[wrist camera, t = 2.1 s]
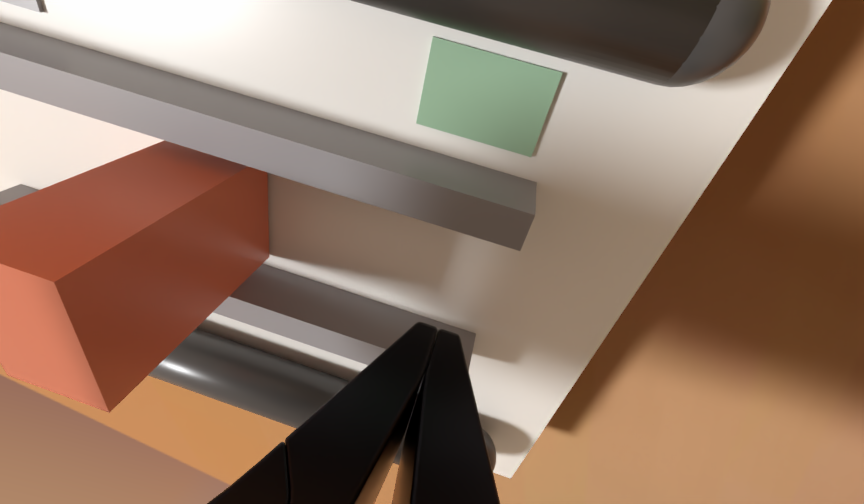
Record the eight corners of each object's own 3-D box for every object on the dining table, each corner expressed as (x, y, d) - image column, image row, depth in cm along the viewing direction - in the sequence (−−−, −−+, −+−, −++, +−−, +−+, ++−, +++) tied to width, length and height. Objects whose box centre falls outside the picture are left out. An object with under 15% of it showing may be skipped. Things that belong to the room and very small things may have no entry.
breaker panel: (808, -90, 7) (1061, -167, 4) (515, 417, 16) (506, 534, 13) (-151, -320, 9) (-632, -534, 5) (71, 266, 18) (-46, 334, 14)
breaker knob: (267, 155, 9) (53, 282, 5) (269, 257, 11) (109, 412, 7) (188, 130, 10) (-78, 237, 5) (202, 235, 11) (7, 375, 7)
